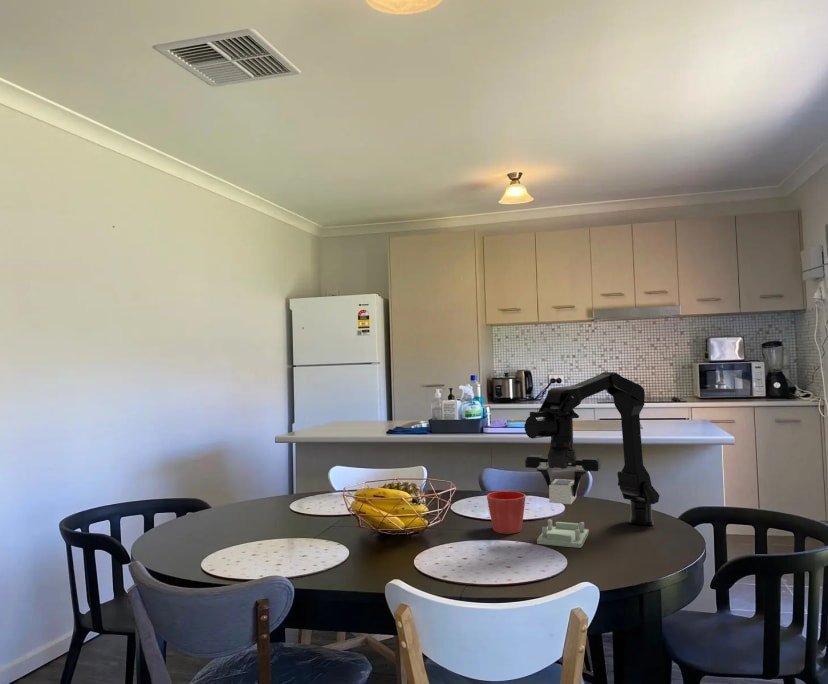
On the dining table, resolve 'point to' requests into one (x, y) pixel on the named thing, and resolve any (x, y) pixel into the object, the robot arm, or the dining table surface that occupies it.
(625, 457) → the robot arm
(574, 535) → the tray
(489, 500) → the flower pot
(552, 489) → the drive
